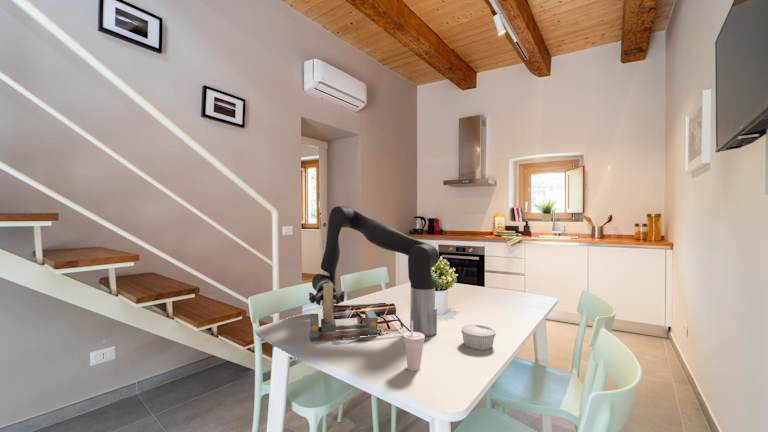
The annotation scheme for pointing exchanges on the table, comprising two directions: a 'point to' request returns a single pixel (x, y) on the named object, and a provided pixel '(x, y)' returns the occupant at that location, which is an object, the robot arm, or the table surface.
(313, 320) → the pair of sage blocks
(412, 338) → the smoothie
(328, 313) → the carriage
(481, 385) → the table surface
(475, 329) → the ramekin
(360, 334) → the rail bed
